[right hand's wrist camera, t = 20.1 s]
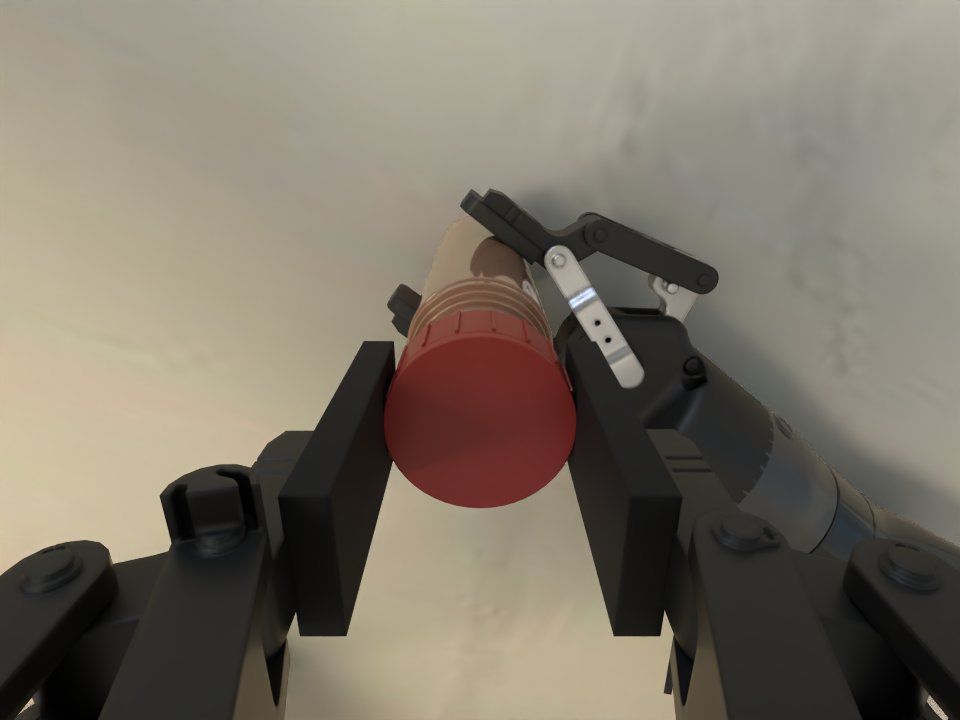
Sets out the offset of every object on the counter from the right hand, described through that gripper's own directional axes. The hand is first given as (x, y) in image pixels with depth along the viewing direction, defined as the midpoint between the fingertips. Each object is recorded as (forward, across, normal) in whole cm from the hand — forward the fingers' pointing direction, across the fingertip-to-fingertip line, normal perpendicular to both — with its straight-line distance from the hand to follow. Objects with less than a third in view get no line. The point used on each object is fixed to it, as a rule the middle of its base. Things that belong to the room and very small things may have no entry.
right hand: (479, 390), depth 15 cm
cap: (-2, 0, 0) cm, 2 cm away
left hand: (+11, -2, +2) cm, 11 cm away
